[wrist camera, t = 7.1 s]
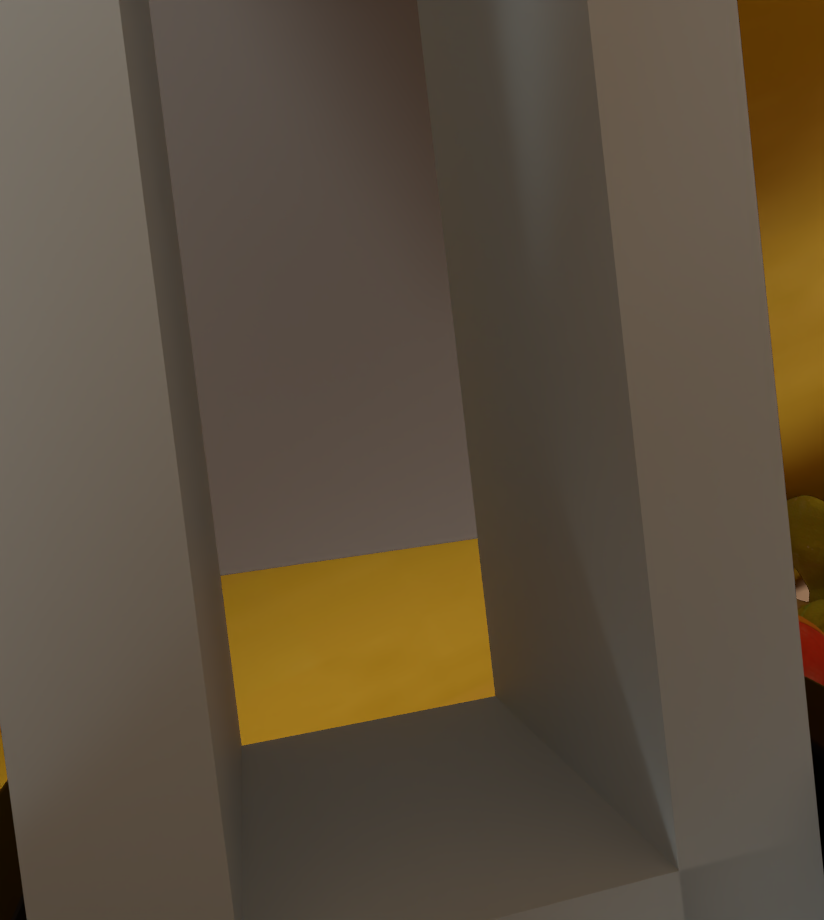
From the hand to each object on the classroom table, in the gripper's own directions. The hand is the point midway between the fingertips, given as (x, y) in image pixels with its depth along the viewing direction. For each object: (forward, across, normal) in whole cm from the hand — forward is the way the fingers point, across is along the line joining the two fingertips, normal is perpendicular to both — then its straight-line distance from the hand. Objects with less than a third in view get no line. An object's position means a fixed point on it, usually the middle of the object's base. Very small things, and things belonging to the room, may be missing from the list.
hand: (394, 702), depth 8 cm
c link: (+4, 0, -3) cm, 5 cm away
